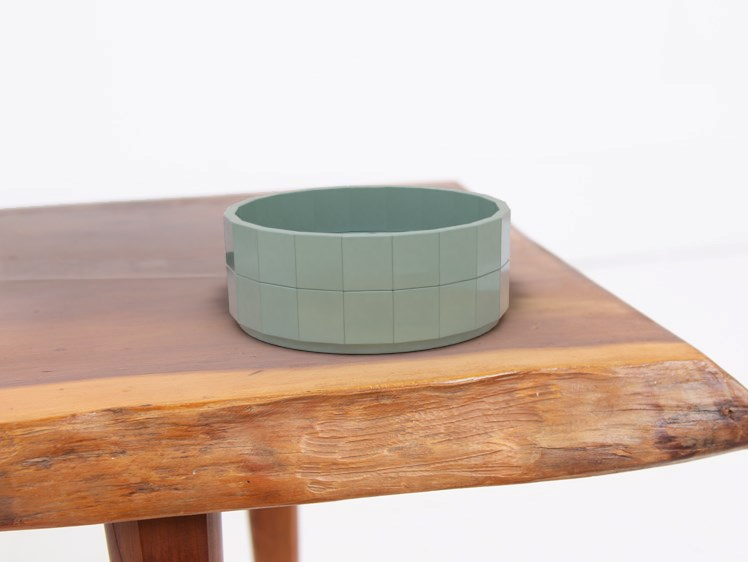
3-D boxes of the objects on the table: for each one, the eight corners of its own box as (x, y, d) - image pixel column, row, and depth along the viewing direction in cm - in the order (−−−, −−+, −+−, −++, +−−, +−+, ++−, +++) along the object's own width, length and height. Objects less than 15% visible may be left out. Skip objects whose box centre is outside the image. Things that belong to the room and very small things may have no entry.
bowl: (214, 359, 55) (206, 238, 53) (246, 284, 69) (241, 187, 67) (523, 353, 55) (526, 232, 53) (492, 280, 70) (493, 183, 68)
